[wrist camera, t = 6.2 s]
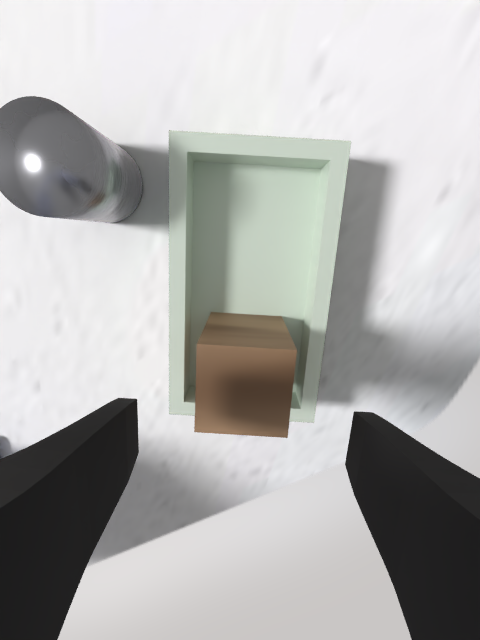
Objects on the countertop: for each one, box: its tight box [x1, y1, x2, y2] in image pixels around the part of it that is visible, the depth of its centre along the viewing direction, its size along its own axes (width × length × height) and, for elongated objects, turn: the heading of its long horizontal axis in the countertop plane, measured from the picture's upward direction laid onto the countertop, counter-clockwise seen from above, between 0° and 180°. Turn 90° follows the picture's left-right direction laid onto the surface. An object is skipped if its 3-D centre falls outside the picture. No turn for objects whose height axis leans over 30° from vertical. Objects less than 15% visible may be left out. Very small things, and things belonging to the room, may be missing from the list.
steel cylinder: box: [0, 96, 143, 223], centre depth 14 cm, size 4×4×6 cm
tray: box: [169, 130, 351, 423], centre depth 17 cm, size 14×8×2 cm, turn 177°
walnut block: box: [194, 312, 297, 438], centre depth 16 cm, size 4×4×6 cm
